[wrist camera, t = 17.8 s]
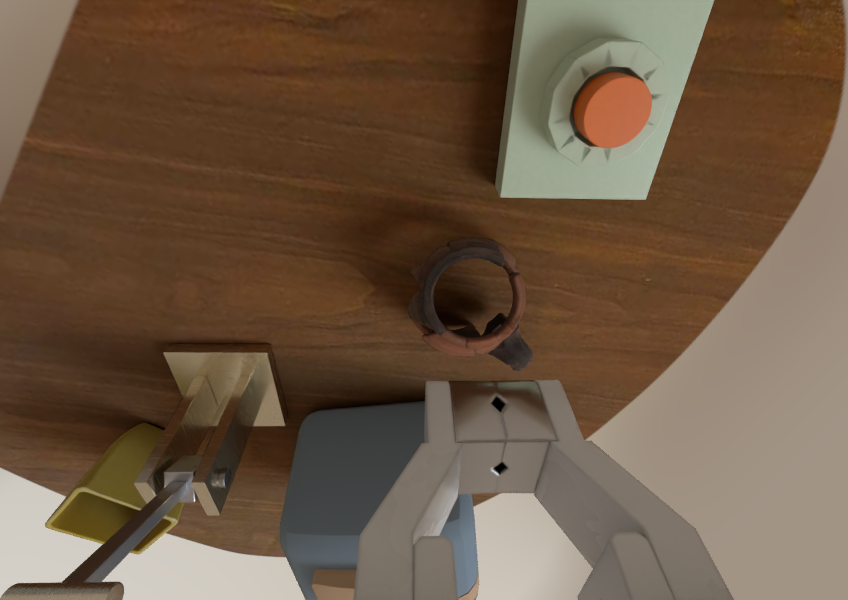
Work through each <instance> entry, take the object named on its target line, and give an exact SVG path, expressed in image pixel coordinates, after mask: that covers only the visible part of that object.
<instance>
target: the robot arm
mask: <svg viewBox="0 0 848 600" xmlns="http://www.w3.org/2000/svg"><path fill="white" fill-rule="evenodd" d="M424 439H425V443H422V444H421V445H420V447H419V448H418V450H417V451H416V452H415V454H414V455H413V457H412V458H411V460H410V461H409V463H408V464H407V466H406V467H405V469H404V470H403V472H402V473H401V475H400V476H399V478H398V479H397V481H396V482H395V484H394V485H393V487H392V488H391V489H390V491H389V492H388V494H387V495H386V497H385V498H384V500H383V501H382V503H381V504H380V506H379V507H378V509H377V510H376V512H375V513H374V515H373V516H372V518H371V519H370V521H369V522H368V524H367V525H366V526H365V528H364V529H363V531H362V532H361V534H360V537H359V548H358V558H357V568H356V579H355V589H354V599H353V600H458V593H457V582H456V571H455V560H454V549H453V543H452V542H451V541H450V540H449V539H448V538H446V537H445V536H439V535H440V533H441V531H442V529H443V526H444V524H445V522H446V520H447V518H448V516H449V514H450V512H451V510H452V508H453V505H454V503H455V501H456V499H457V497H458V495H459V494H481V493H535V494H534V495H535V497H536V498H537V499H538V500H539V502H540V503H541V504H542V505H543V507H544V508H545V509H546V510H547V511H548V513H549V514H550V515H551V517H552V518H553V519H554V520H555V521H556V523H557V524H558V525H559V527H560V528H561V529H562V530H563V532H564V533H565V534H566V535H567V536H568V538H569V539H570V540H571V542H572V543H573V544H574V545H575V546H576V548H577V549H578V550H579V551H580V552H581V554H582V555H583V556H584V558H585V559H586V560H587V561H588V563H589V564H590V565H591V566H592V567H593V570H592V572H591V574H590V575H589V577H588V579H587V581H586V582H585V584H584V586H583V588H582V590H581V591H580V593H579V595H578V600H734V599H733V597H732V595H731V594H730V592H729V590H728V588H727V586H726V584H725V582H724V581H723V579H722V577H721V575H720V573H719V571H718V570H717V567H716V566H715V564H714V562H713V560H712V558H711V557H710V554H709V553H708V551H707V549H706V547H705V545H704V543H703V542H702V540H701V538H700V536H699V534H698V532H697V531H696V529H695V528H694V527H693V526H691V524H689V523H688V522H687V521H686V520H685V519H683V518H682V517H681V516H680V515H679V514H677V513H676V512H675V511H674V510H673V509H671V508H670V507H669V506H668V505H667V504H666V503H664V502H663V501H662V500H661V499H660V498H658V497H657V496H656V495H655V494H654V493H652V492H651V491H650V490H649V489H648V488H647V487H645V486H644V485H643V484H642V483H641V482H639V481H638V480H637V479H636V478H635V477H633V476H632V475H631V474H630V473H629V472H628V471H626V470H625V469H624V468H623V467H622V466H620V465H619V464H618V463H617V462H616V461H615V460H613V459H612V458H611V457H610V456H609V455H607V454H606V453H605V452H604V451H603V450H601V449H600V448H599V447H598V446H597V445H595V444H594V443H593V442H592V441H584V439H583V436H582V434H581V431H580V429H579V426H578V424H577V422H576V419H575V417H574V414H573V412H572V409H571V407H570V404H569V402H568V399H567V397H566V394H565V392H564V389H563V387H562V384H561V383H560V382H559V381H558V380H535V381H534V380H515V381H449V382H448V381H426V386H425V423H424Z"/></svg>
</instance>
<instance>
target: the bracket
mask: <svg viewBox="0 0 848 600" xmlns="http://www.w3.org/2000/svg"><path fill="white" fill-rule="evenodd" d="M163 353H164V356H165V358H166V360H167V362H168V365H169V367H170V369H171V371H172V374H173V376H174V378H175V381H176V383H177V385H178V387H179V390H180V392H181V394H182V396H183V399H182V400H181V402H180V404H179V406H178V407H177V409H176V411H175V413H174V414H173V416H172V418H171V419H170V421H169V423H168V425H167V426H166V428H165V430H164V432H163V433H162V435H161V437H160V439H159V440H158V442H157V444H156V445H155V447H154V449H153V451H152V452H151V454H150V456H149V458H148V459H147V461H146V463H145V465H144V466H143V468H142V470H141V471H140V473H139V475H138V477H137V478H136V480H135V482H134V485H135V487H136V488H137V490H138V491H139V493H140V494H141V496H142V497H143V499H144V500H145V502H146V504H147V503H149V502H150V501H151V500H152V499H153V498H154V497H155V496H156V495H157V494H158V493H159V492H160V491H162V490H163V489H164V472H165V471H166V470H167V469H168V468H169V467H171V466H172V465H173V464H174V463H175V462H176V461H178V460H179V459H180V458H181V457H182V456H184V455H196V453H197V451H198V449H199V447H200V445H201V443H202V441H203V439H204V437H205V435H206V432H207V430H208V428H209V426H217V427H216V429H215V431H214V434H213V436H212V438H211V440H210V442H209V445H208V447H207V449H206V451H205V453H204V455H203V458H202V460H201V462H200V464H199V466H198V468H197V471H196V473H195V475H194V477H193V479H192V482H191V485H192V487H193V489H194V491H195V493H196V494H197V496H198V498H199V500H200V502H201V504H202V506H203V508H204V510H205V512H206V514H207V515H220V513H221V511H222V508H223V505H224V503H225V500H226V497H227V495H228V492H229V489H230V487H231V484H232V481H233V479H234V476H235V473H236V471H237V468H238V465H239V463H240V460H241V457H242V455H243V452H244V449H245V447H246V444H247V441H248V439H249V436H250V433H251V431H252V428H253V426H286V423H287V419H288V414H287V410H286V406H285V402H284V397H283V393H282V389H281V385H280V381H279V377H278V373H277V368H276V364H275V360H274V356H273V352H272V348H271V344H169V345H168V347H167V348H166V349H165V351H164V352H163ZM167 514H168V513H167ZM167 514H166V515H167ZM166 515H165V516H166Z"/></svg>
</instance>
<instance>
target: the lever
mask: <svg viewBox="0 0 848 600" xmlns="http://www.w3.org/2000/svg"><path fill="white" fill-rule="evenodd" d="M202 458H203V455H184V456H182V457H181V458H180V459H179V460H178V461H176V462H175V463H174V464H173V465H172V466H171V467H169V468H168V469H167V470H166V471H165V472H164V489H163V490H162V491H160V492H159V493H158V494H157V495H156V496H155V497H154V498H153V499H152V500H151V501H150V502H149V503H147V504H146V505H145V506H144V507H143V508H142V509H141V510H140V511H139V512H138V513H137V514H135V515H134V516H133V517H132V518H131V519H130V520H129V521H128V522H127V523H126V524H125V525H123V526H122V527H121V528H120V529H119V530H118V531H117V532H116V533H115V534H114V535H113V536H112V537H110V538H109V539H108V540H107V541H106V542H105V543H104V544H103V545H102V546H101V547H100V548H99V549H97V550H96V551H95V552H94V553H93V554H92V555H91V556H90V557H89V558H88V559H87V560H85V561H84V562H83V563H82V564H81V565H80V566H79V567H78V568H77V569H76V570H75V571H74V572H72V573H71V574H70V575H69V576H68V577H67V578H66V579H65V580H64V581H63V582H62V583H18V584H15V585H13V586H11V587H10V588H8V589H7V590H6V591H5V593H4V594H3V595H2V596H1V598H0V600H122V598H123V594H124V587H123V584H122V583H120V582H102V580H104V579H105V577H106V576H107V575H108V574H109V573H110V572H111V571H112V570H113V569H114V568H115V567H116V566H117V565H118V564H119V563H120V562H121V561H122V560H123V559H124V558H125V557H126V556H127V555H128V554H129V553H130V552H131V551H132V550H133V548H134V547H135V546H136V545H137V544H138V543H139V542H140V541H141V540H142V539H143V538H144V537H145V536H146V535H147V534H148V533H149V532H150V531H151V530H152V529H153V528H154V527H155V526H156V525H157V524H158V523H159V522H160V521H161V519H162V518H163V517H164V516H165V515H166V514H167V513H168V512H169V511H170V510H171V509H172V508H173V507H174V506H175V505H176V504H177V503H178V502H195V501H196V500H197V499H198V496H197V494H196V493H195V491H194V489H193V487H192V485H191V482H192V479H193V477H194V475H195V473H196V471H197V468H198V466H199V464H200V462H201V460H202Z"/></svg>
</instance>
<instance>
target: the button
mask: <svg viewBox="0 0 848 600" xmlns="http://www.w3.org/2000/svg"><path fill="white" fill-rule="evenodd" d="M651 109H652V97H651V93H650V91H649V88H648V87H647V85H646V84H645V83H644V82H643V81H641V80H640V79H638V78H635V77H632V76H629V75H627V74H624V73H620V72H608V73H604V74H601V75H599V76H597V77H596V78H594V79H592V80H591V81H590V82H589V83H588V84H587V85H586V86H585V87H584V88H583V89H582V91H581V92H580V94H579V96H578V98H577V100H576V103H575V106H574V122H575V125H576V128H577V129H578V131H579V132H580V133H581V134H582V135H583V136H584V137H585V138H587V139H588V140H589V141H590V142H592V143H593V144H594V145H596V146H598V147H602V148H616V147H619V146H622V145H624V144H626V143H628V142H630V141H631V140H633V139H634V138H635V137H636V136H637V135H638V134H639V133H640V132H641V131H642V130H643V128H644V127H645V125H646V123H647V121H648V119H649V117H650V114H651Z"/></svg>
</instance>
